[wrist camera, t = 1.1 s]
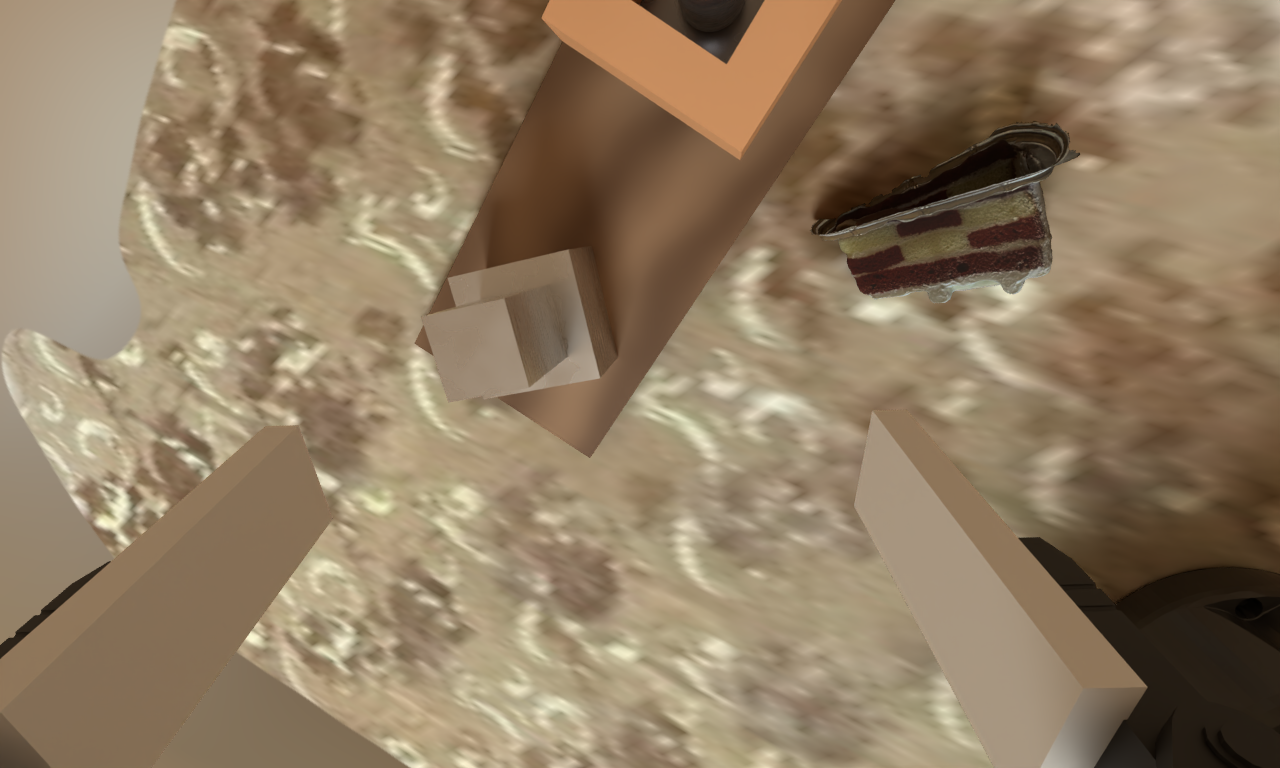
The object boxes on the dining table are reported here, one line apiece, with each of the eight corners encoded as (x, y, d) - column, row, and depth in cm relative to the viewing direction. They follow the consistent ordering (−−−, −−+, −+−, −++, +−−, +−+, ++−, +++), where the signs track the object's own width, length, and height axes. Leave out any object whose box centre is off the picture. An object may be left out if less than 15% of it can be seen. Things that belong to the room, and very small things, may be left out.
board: (906, -17, 28) (915, -30, 27) (595, 449, 38) (589, 457, 37) (679, -172, 28) (677, -193, 27) (426, 339, 38) (414, 343, 37)
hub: (591, 246, 33) (527, 255, 23) (618, 357, 35) (569, 413, 24) (486, 270, 34) (380, 290, 24) (516, 376, 36) (429, 437, 26)
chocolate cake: (836, 335, 34) (1071, 341, 25) (796, 236, 31) (1047, 198, 22) (905, 252, 38) (1130, 229, 29) (876, 157, 35) (1118, 95, 26)
